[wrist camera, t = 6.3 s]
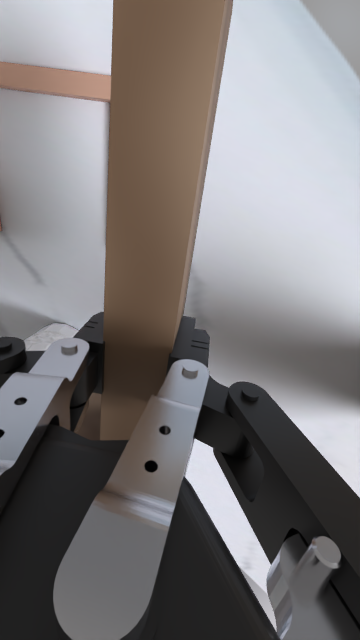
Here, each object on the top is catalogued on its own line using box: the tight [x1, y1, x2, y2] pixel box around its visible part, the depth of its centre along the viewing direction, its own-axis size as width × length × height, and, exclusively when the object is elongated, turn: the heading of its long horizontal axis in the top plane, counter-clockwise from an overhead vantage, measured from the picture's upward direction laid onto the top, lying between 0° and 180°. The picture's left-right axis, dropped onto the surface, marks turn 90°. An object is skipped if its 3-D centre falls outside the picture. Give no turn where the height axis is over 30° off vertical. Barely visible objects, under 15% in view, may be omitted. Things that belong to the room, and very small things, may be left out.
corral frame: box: [0, 62, 111, 231], centre depth 26 cm, size 15×14×1 cm
